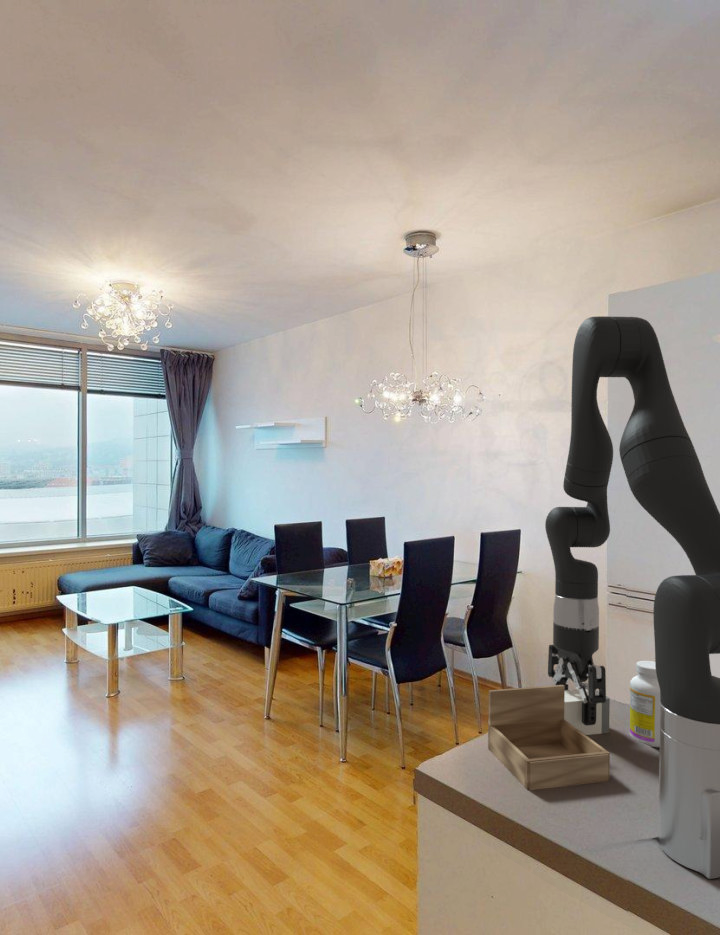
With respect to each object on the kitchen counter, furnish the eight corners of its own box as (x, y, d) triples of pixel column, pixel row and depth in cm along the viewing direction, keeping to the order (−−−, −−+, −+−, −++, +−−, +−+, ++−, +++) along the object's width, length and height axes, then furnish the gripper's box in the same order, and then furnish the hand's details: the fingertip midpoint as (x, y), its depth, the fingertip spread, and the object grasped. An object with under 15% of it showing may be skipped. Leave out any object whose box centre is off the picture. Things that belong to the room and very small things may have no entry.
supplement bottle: (663, 733, 108) (664, 659, 108) (679, 750, 102) (680, 672, 102) (624, 730, 109) (624, 657, 109) (637, 748, 102) (638, 670, 102)
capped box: (556, 741, 104) (557, 702, 104) (541, 728, 109) (541, 692, 109) (609, 736, 107) (609, 698, 107) (592, 724, 112) (592, 688, 112)
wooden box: (610, 784, 90) (611, 716, 90) (527, 794, 87) (528, 723, 87) (561, 744, 103) (562, 684, 103) (488, 752, 100) (488, 690, 100)
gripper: (535, 612, 114) (534, 700, 114) (579, 633, 100) (578, 733, 100) (572, 611, 116) (571, 698, 116) (620, 631, 102) (619, 729, 102)
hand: (574, 714), depth 108 cm, fingers open, 8 cm apart
